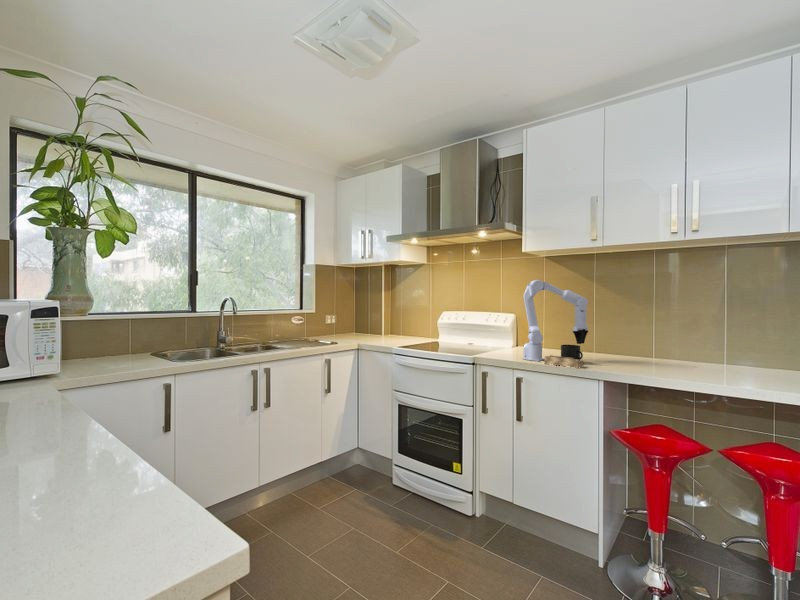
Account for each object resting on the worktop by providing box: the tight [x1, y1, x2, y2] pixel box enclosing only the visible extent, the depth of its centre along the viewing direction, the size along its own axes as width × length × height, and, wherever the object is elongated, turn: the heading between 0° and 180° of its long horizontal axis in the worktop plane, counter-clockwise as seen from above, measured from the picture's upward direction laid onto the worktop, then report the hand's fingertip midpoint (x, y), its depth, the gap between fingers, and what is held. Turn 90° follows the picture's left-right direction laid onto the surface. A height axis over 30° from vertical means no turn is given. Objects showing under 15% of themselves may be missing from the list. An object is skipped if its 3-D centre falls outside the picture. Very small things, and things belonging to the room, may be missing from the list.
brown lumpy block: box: [544, 354, 584, 369], centre depth 203 cm, size 17×7×5 cm, turn 43°
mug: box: [560, 344, 584, 361], centre depth 211 cm, size 9×12×9 cm
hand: (580, 343), depth 217 cm, fingers open, 3 cm apart
